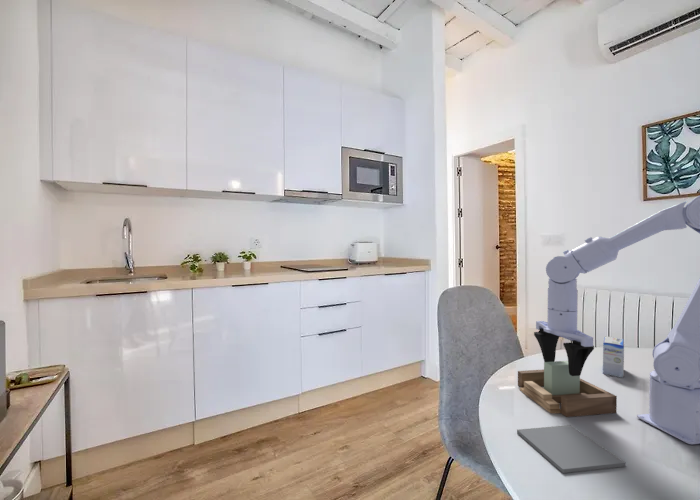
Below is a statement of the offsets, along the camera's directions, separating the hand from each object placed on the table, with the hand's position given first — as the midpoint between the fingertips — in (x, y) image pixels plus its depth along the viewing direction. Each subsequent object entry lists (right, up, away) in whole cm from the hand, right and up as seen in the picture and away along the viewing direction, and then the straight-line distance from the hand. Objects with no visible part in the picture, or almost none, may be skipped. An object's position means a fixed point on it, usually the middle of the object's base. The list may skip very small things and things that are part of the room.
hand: (561, 368), depth 76 cm
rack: (0, -7, 0) cm, 7 cm away
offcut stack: (-6, -7, -1) cm, 9 cm away
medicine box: (+24, -7, +16) cm, 30 cm away
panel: (0, -7, 0) cm, 7 cm away
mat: (-11, -7, -19) cm, 23 cm away
